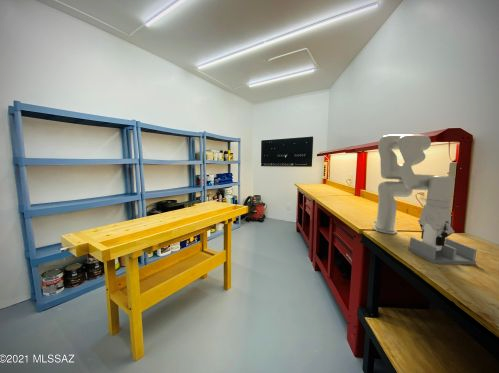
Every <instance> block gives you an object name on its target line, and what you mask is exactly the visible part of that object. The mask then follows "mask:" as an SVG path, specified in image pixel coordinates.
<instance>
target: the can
mask: <svg viewBox="0 0 499 373" xmlns="http://www.w3.org/2000/svg"><path fill="white" fill-rule="evenodd" d="M442 230H443V229H442ZM441 233H443V231H441ZM437 236H438V232H437V230H434V229H432V228H431V226H430V225H429V224H426V225H425V226H424V233H423V239H421V240H422V242H424V243H426V244H428V245H430V246H432V247H435V248H437V249H436V251H440V250H441V248H442V246H437V245H436V239H437Z"/></svg>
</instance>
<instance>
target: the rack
mask: <svg viewBox="0 0 499 373" xmlns="http://www.w3.org/2000/svg"><path fill="white" fill-rule="evenodd" d="M407 249H408V251H410V252H412V253H413V254H416V255H417V256H418V257H420V258H423V259H424V260H427V261H428V262H430V263H432V264H442V265H443V264H445V265H447V264H448V265H473V266H474V265H477V261H476V256H477V252H478V250H477V248H474V247H471V246H468V245H467V244H466V245H465V244H463V243H461V242H458V241H455V240H453V239H450V238H448V237H447V238H445V244H444V246H442V248H441V250H440V251H436V249H437V248H435V247H432V246H430V245H428V244H426V243H424V242H422V241H421V240H420V239H417V238H415V237H410V239H409V246H407Z"/></svg>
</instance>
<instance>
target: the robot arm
mask: <svg viewBox="0 0 499 373" xmlns="http://www.w3.org/2000/svg"><path fill="white" fill-rule="evenodd" d="M431 144H432V141H431V138H430V137H429V136H428V135H425V134H388V135H387V134H386V135H383V136H382V137H381V138H380V139H379V141H378V145H377V149H378V150H377V151H378V154H379V157H380V158H379V159H380V175H381V178H382V179H384V180H391V181H382V182H380V183H379V184H378V186H377V193H378V202H377V203H378V204H377V214H376V221H375V220H374V221H373V223H374V224H375V225H373V227H372V229H373V230H375V231H376V232H379V233H382V234H389V235H390V234H393V235H394V234H397V233H398V230H397V229H395V225H396V217H397V209H398V208H397V207H398V204H397V201H396V199H395V198H408V197H410V196H411V195H412V194H413V191H415V190H416V191H427V194H426V199H425V204H424V205H423V207H422V210H421V212H420V217H419V219H418V220H417V222H418V224H419V227H420V230H421V238H420V239H421V240H423V233H424V226H425V225H426V224H429V225H430V226H431V228H432V229H434V230H437V232H438V236H437V239H436V245H437V246H444V244H445V239H446V238H448V237H449V236H451V235H453V234H455V230H454V229H453V228H452V226H451V223H452V210H451V208H450V206H451V200H452V194H453V189H454V177H452V176H446V175H435V174H419V173H418V174H417V173H416V174H415V172H414V171H413V168H412V167H413V166H415V165H418V164H420V163H422V162H423V161H425V159H426V158H427V157H426V154H425V151H427V150H428V149H429V148H430V147H431ZM393 150H399V152H400V154H401V157H402V158H403V161H404V162H403V164H398V156H397V154H396V153H395V152H394V151H393ZM392 180H398V181H392ZM442 229H443V230H442ZM441 231H443V233H441Z"/></svg>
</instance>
